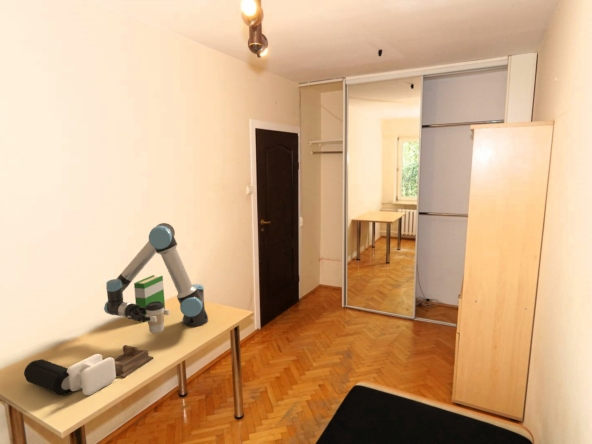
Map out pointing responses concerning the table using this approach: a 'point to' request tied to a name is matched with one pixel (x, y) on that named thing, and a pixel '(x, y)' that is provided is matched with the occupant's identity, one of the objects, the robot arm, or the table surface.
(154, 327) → the coffee cup
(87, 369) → the cable organizer
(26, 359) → the table surface
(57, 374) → the portable speaker
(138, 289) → the hardback book
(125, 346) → the brown wooden tray
